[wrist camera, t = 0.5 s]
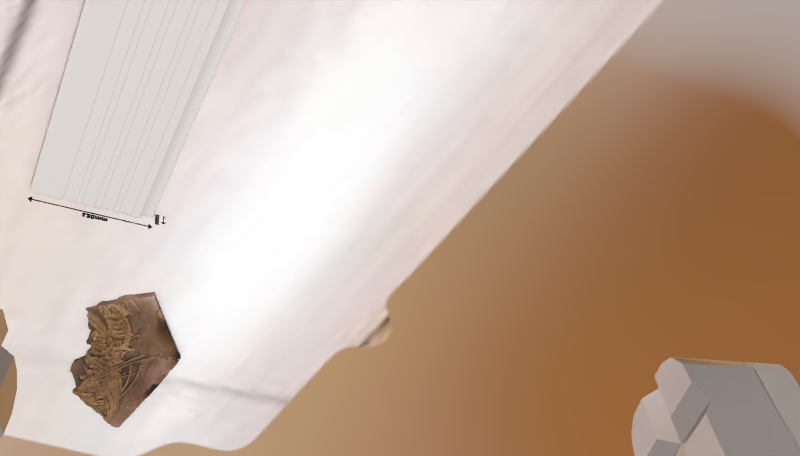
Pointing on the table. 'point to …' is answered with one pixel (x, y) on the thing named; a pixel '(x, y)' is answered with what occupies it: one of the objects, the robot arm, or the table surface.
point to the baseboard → (130, 100)
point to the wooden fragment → (124, 356)
